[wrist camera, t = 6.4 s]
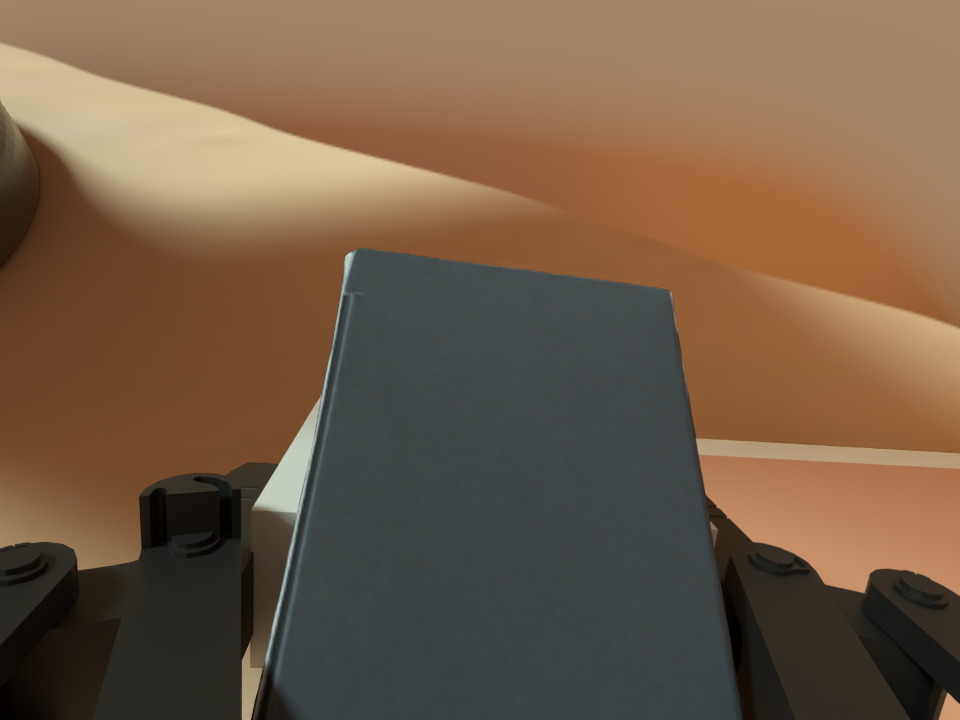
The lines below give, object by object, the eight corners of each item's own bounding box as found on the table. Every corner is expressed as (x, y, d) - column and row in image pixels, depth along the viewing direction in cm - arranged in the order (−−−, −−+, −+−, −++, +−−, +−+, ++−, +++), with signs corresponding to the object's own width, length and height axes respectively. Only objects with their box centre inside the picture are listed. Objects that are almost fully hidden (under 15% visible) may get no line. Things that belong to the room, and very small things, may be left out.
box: (545, 788, 15) (791, 905, 6) (316, 777, 14) (187, 884, 5) (543, 486, 19) (683, 276, 10) (366, 469, 18) (342, 234, 9)
